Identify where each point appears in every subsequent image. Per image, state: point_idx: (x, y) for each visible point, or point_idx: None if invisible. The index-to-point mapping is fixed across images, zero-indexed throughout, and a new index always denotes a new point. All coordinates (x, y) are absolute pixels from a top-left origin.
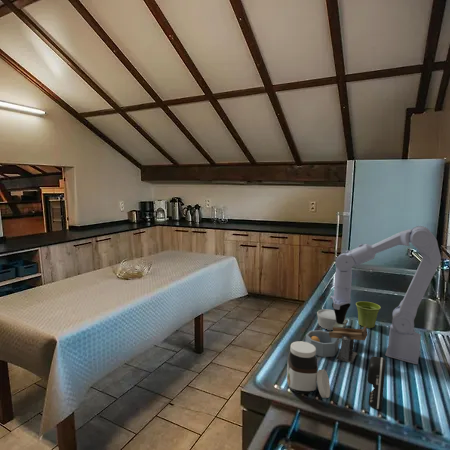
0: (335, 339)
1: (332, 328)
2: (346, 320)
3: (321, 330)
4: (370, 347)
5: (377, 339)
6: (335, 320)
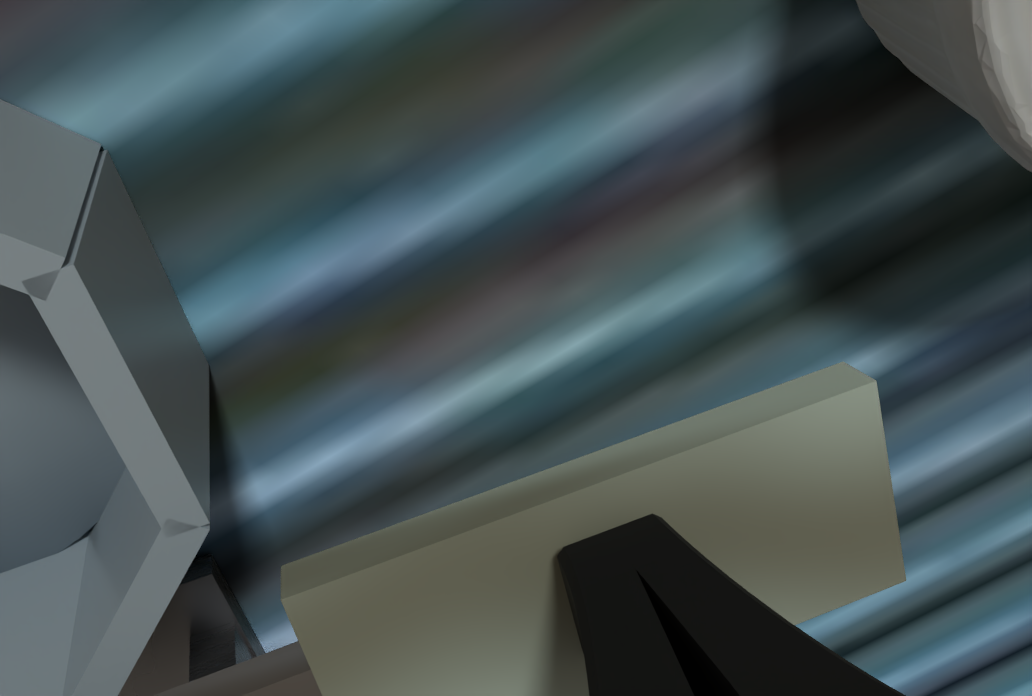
0: (86, 642)
1: (865, 3)
2: (863, 582)
3: (81, 286)
4: None
5: (957, 566)
6: (996, 126)
